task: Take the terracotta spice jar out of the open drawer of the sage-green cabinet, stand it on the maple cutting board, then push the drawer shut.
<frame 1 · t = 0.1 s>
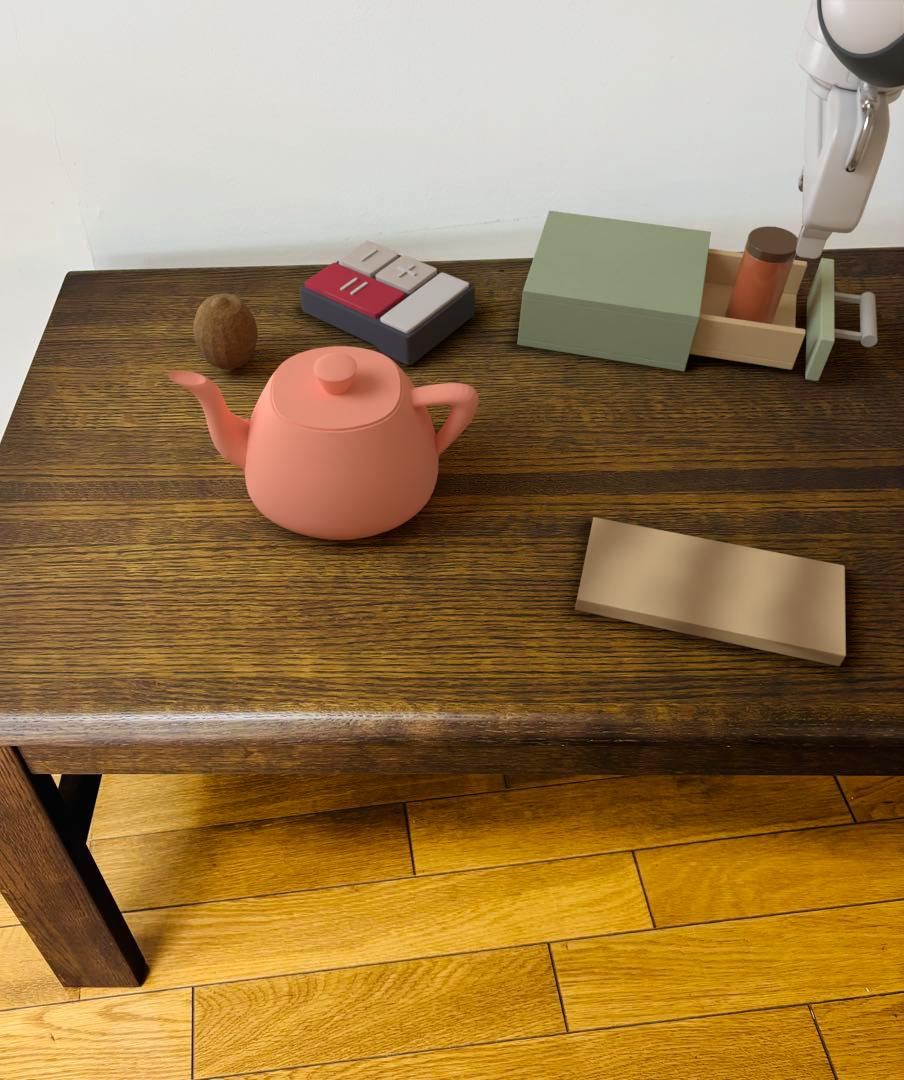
hand: (807, 219, 79), 20 cm above the table, tool pointing down, fingers open, 8 cm apart
spice jar: (748, 318, 100), point 2 cm above the table, touching drawer
board: (707, 593, 80), on the table
teapot: (332, 483, 90), on the table
drawer: (766, 310, 98), point 3 cm above the table, slide at 11.0 cm, touching spice jar
calculator: (387, 314, 105), on the table
cabinet: (609, 314, 104), on the table
fruit: (231, 365, 101), on the table
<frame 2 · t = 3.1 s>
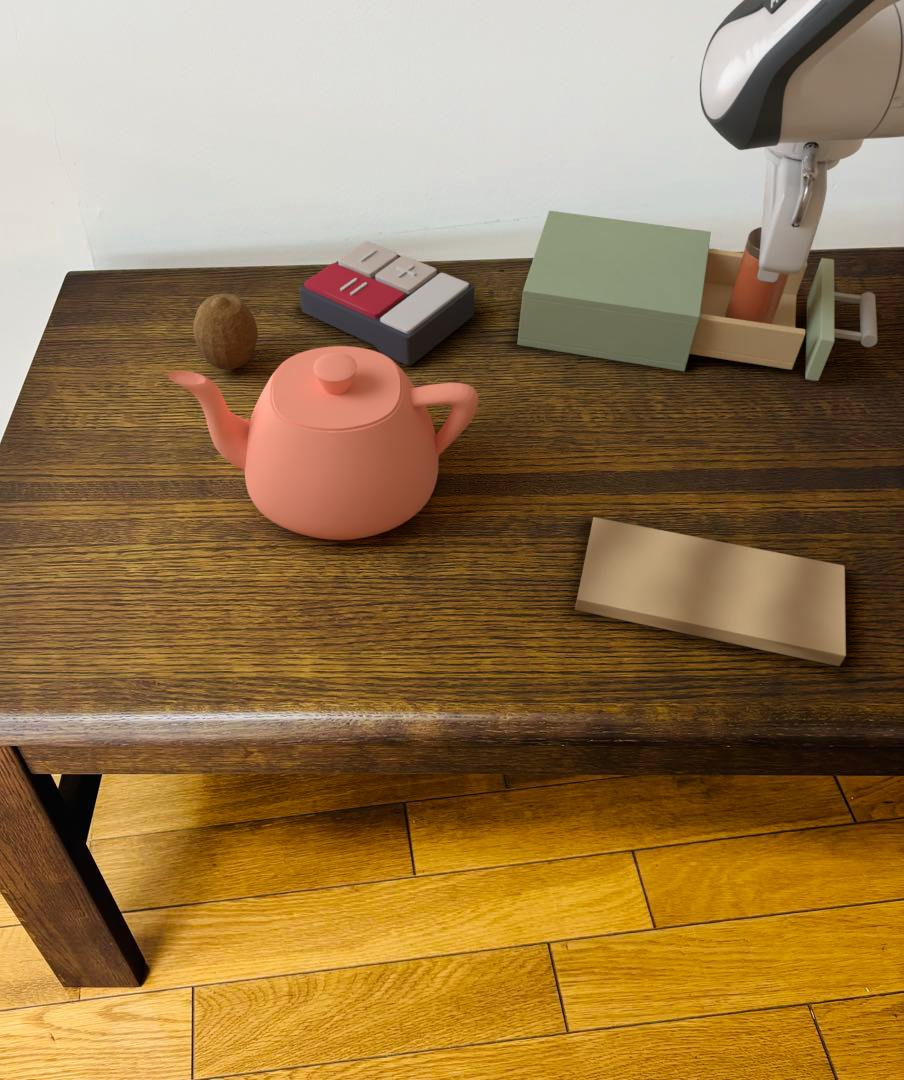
hand: (767, 259, 94), 9 cm above the table, tool pointing down, fingers closed on spice jar, 4 cm apart
spice jar: (748, 318, 100), point 2 cm above the table, touching drawer, gripper
everything else where it was.
when the fingers open (8 cm above the table, at t = 11.6 s): spice jar stays where it is, resting on board.
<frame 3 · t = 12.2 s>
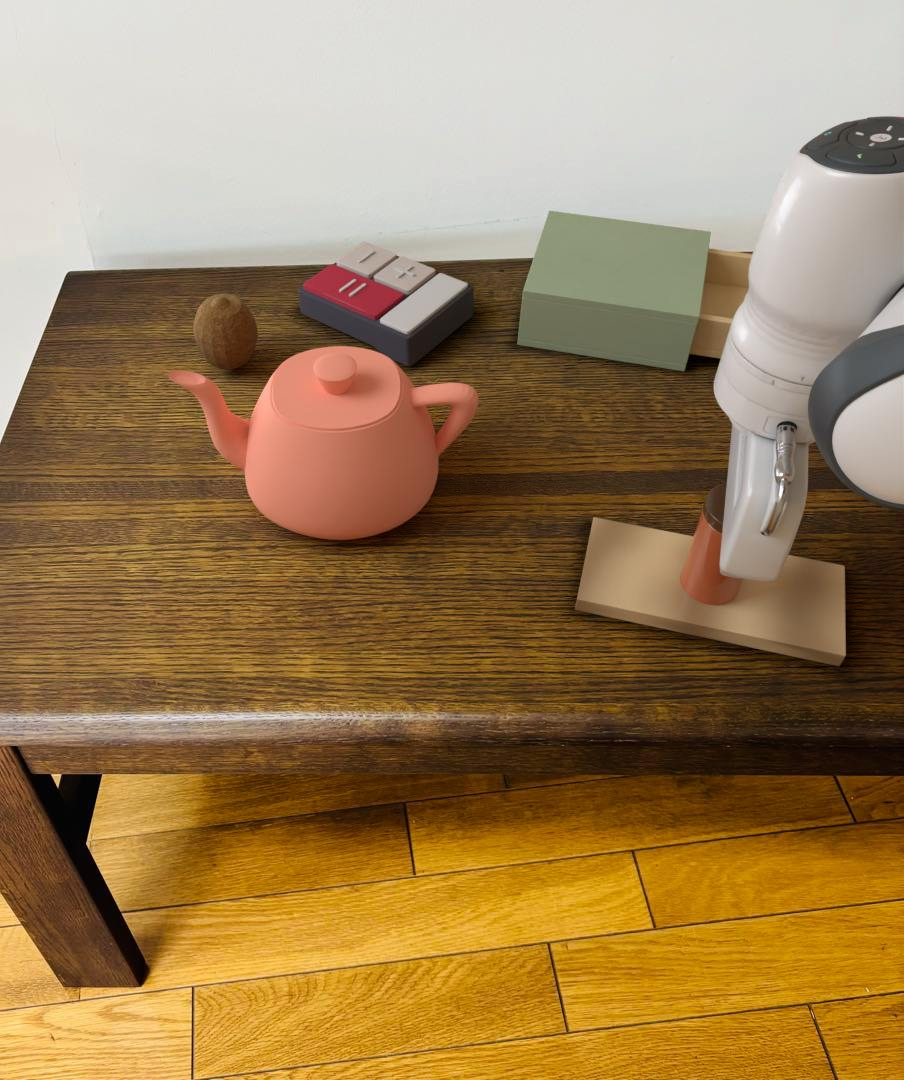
hand: (736, 521, 74), 9 cm above the table, tool pointing down, fingers open, 8 cm apart
spice jar: (709, 582, 79), point 1 cm above the table, touching board
drawer: (766, 310, 98), point 3 cm above the table, slide at 11.0 cm
everything else where it was.
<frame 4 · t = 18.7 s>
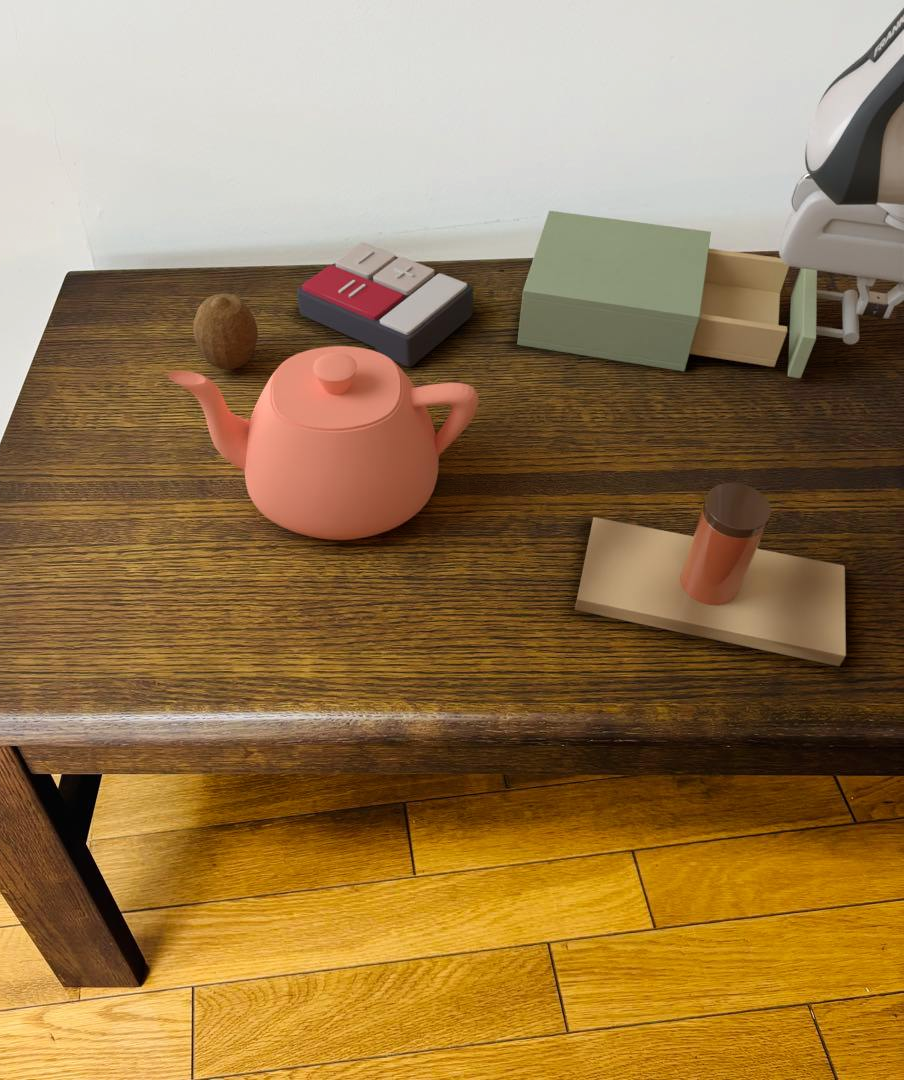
hand: (871, 313, 96), 5 cm above the table, tool pointing down, fingers closed
drawer: (749, 307, 99), point 3 cm above the table, slide at 9.4 cm, touching gripper
everything else where it was.
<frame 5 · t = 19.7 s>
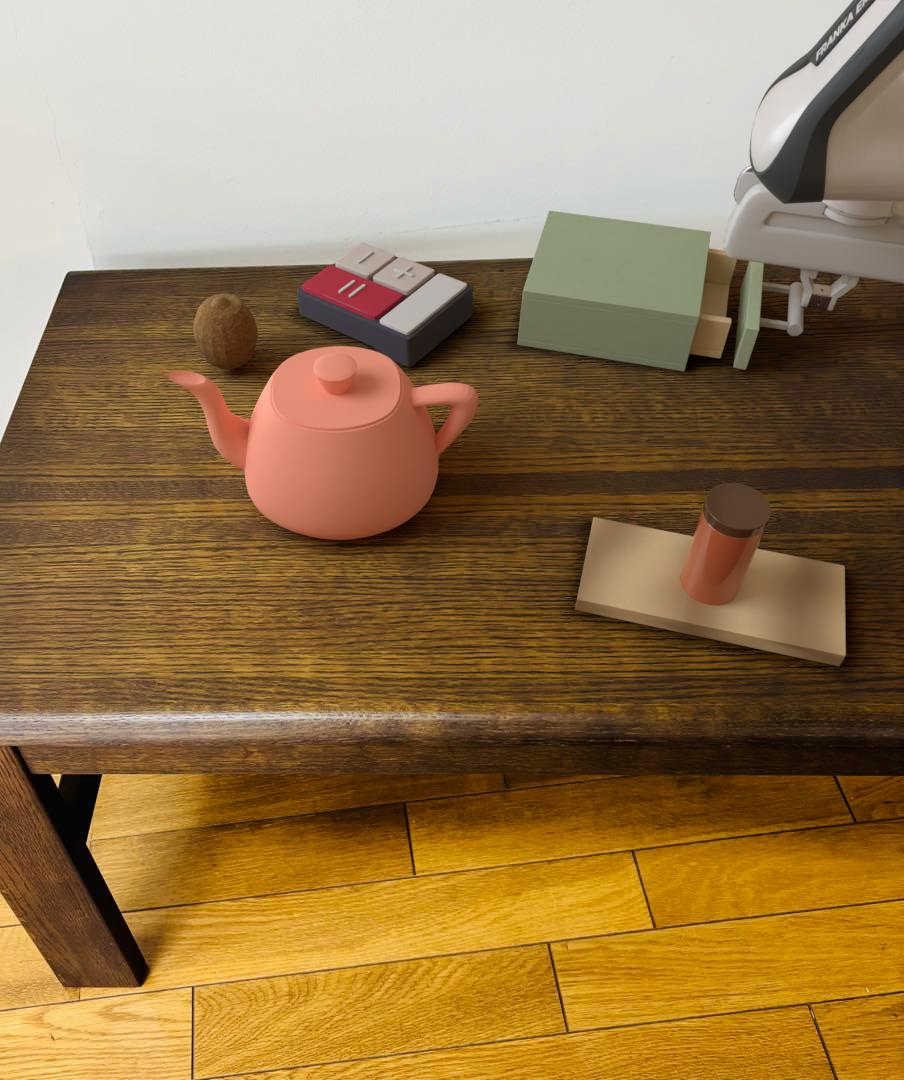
hand: (816, 305, 97), 5 cm above the table, tool pointing down, fingers closed
drawer: (697, 300, 100), point 3 cm above the table, slide at 4.3 cm, touching gripper
everything else where it was.
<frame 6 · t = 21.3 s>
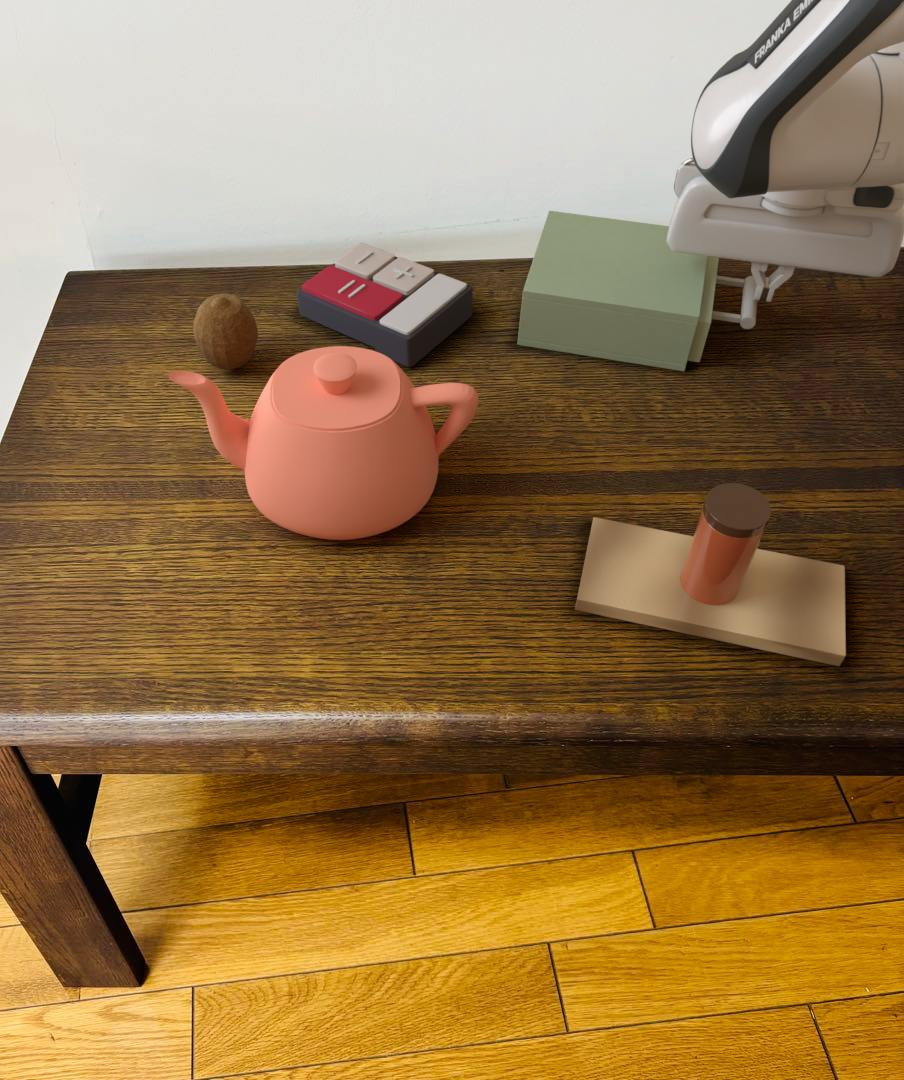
hand: (761, 297, 98), 5 cm above the table, tool pointing down, fingers closed, pressing on drawer
drawer: (653, 293, 101), point 3 cm above the table, slide at 0.0 cm, touching cabinet, gripper
everything else where it was.
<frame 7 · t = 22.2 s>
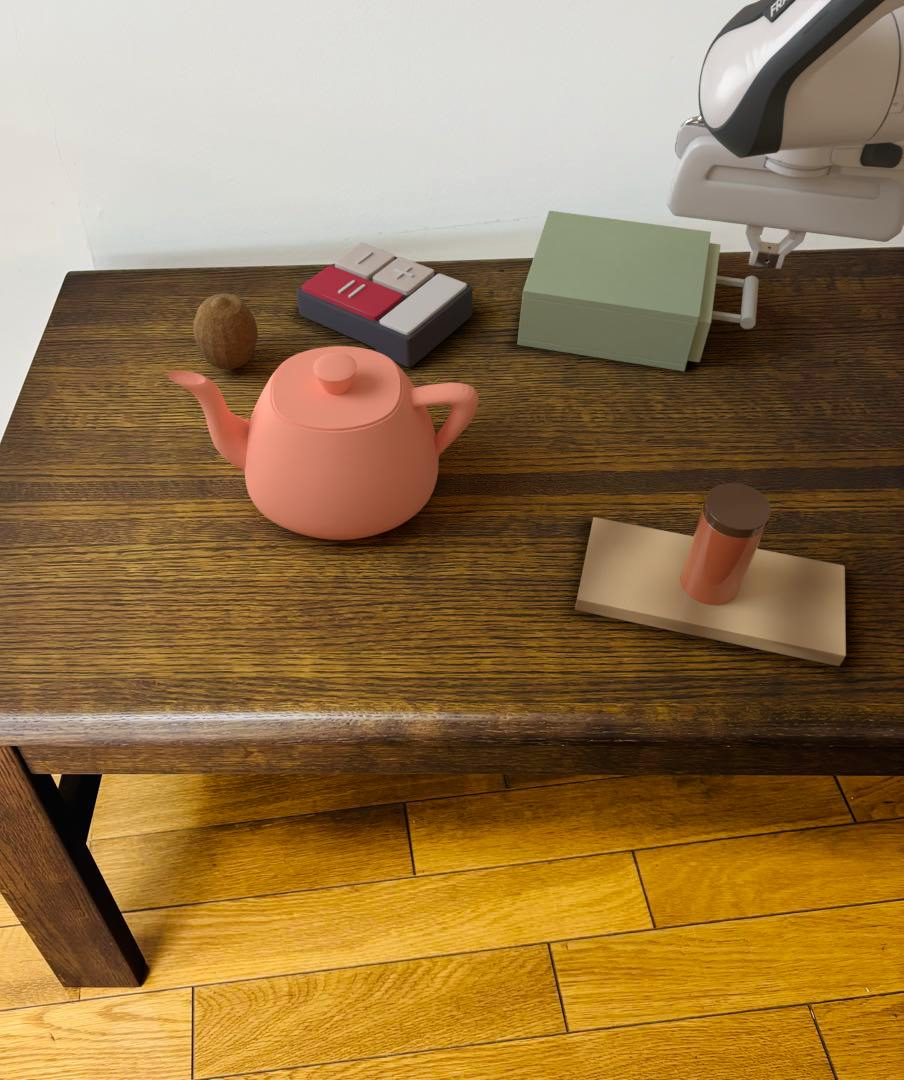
hand: (764, 264, 95), 8 cm above the table, tool pointing down, fingers closed
drawer: (653, 293, 101), point 3 cm above the table, slide at 0.0 cm
everything else where it was.
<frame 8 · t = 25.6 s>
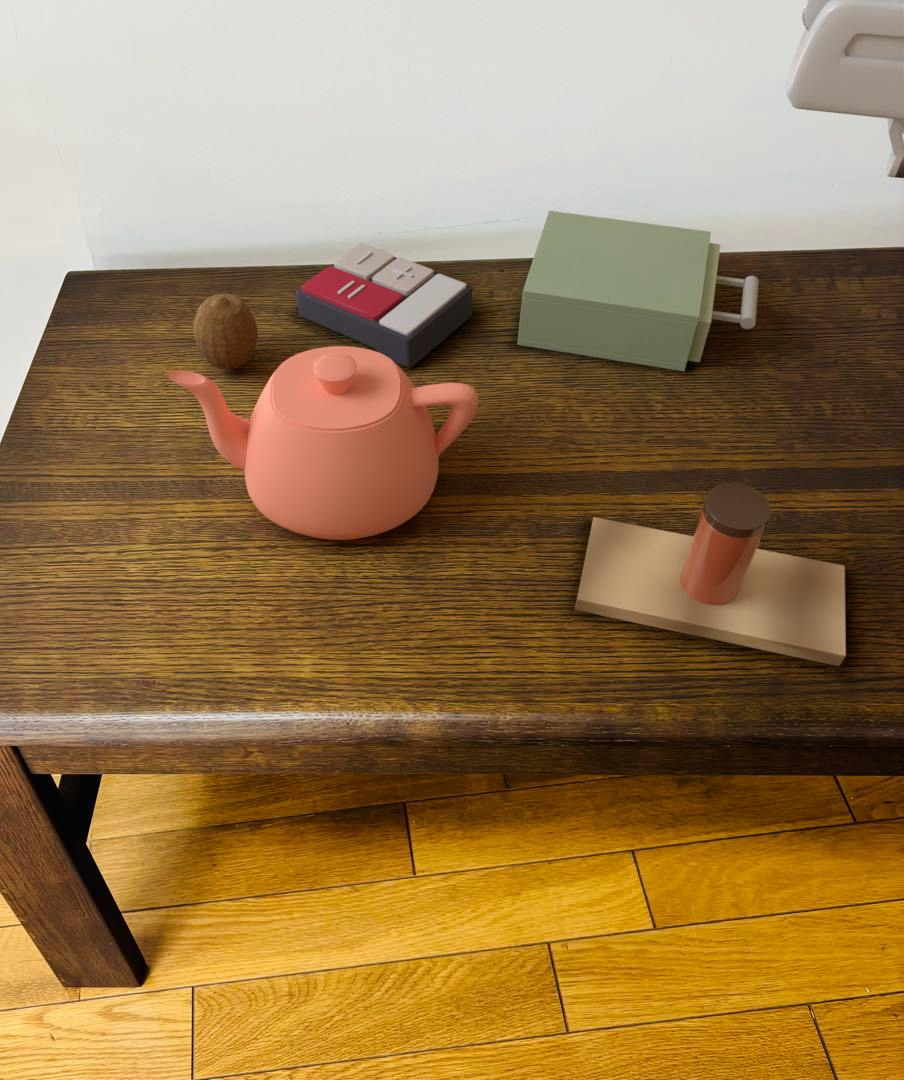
nothing on the table moved.
at the end: spice jar inside the target area on the board (0.2 cm from its centre), point 1.5 cm above the board's base; spice jar tilted 0°; drawer slide at 0.0 cm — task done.
